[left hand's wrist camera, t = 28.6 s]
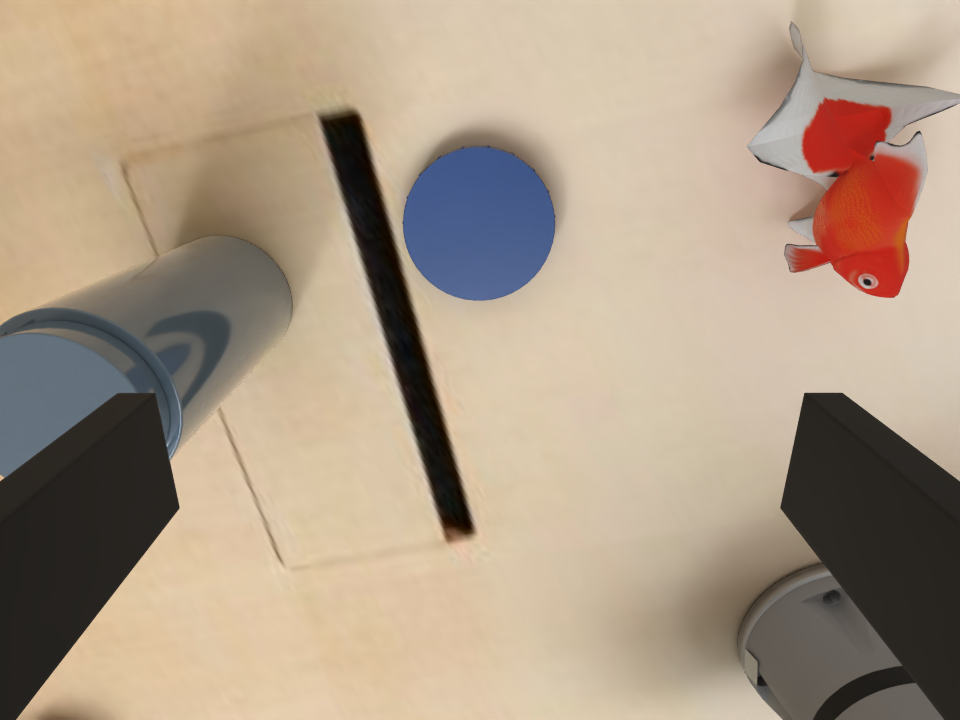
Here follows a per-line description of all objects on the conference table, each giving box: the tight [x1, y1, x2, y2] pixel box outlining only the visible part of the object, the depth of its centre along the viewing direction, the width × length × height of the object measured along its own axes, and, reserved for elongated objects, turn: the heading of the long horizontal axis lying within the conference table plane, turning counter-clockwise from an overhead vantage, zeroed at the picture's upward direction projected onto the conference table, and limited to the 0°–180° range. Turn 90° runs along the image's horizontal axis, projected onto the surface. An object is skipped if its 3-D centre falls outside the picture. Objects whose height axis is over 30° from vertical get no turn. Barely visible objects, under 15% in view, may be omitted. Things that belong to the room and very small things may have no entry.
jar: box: [0, 235, 292, 478], centre depth 33 cm, size 9×9×18 cm
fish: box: [747, 22, 960, 298], centre depth 35 cm, size 11×16×10 cm
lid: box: [403, 145, 555, 300], centre depth 39 cm, size 9×10×2 cm
